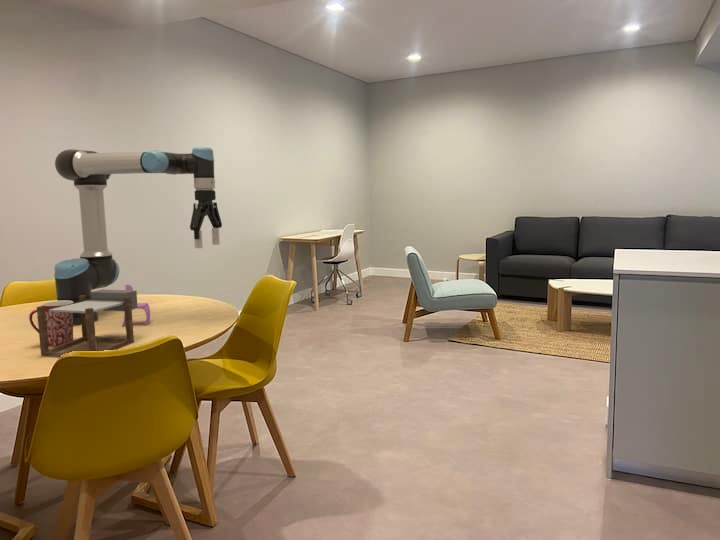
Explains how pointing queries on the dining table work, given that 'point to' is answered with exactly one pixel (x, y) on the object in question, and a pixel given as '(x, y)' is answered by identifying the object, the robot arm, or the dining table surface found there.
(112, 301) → the trapdoor
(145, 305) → the purple tall handled piece
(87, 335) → the frame
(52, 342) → the mug
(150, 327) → the dining table surface
